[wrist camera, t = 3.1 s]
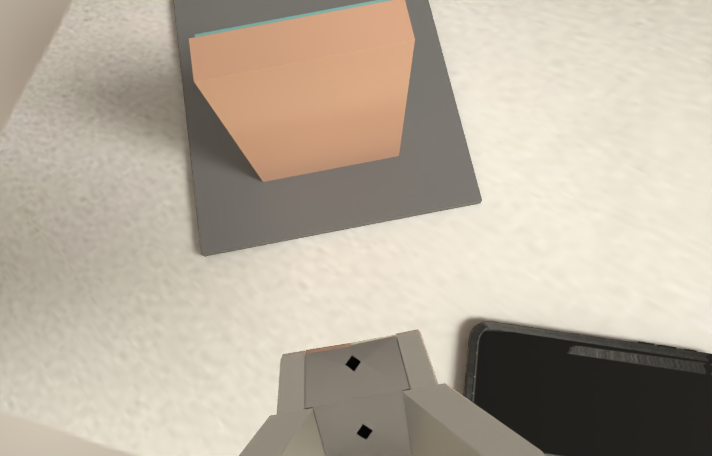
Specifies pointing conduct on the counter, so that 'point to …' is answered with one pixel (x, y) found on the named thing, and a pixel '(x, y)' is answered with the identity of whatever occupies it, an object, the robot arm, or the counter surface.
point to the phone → (591, 392)
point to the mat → (328, 187)
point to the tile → (310, 86)
